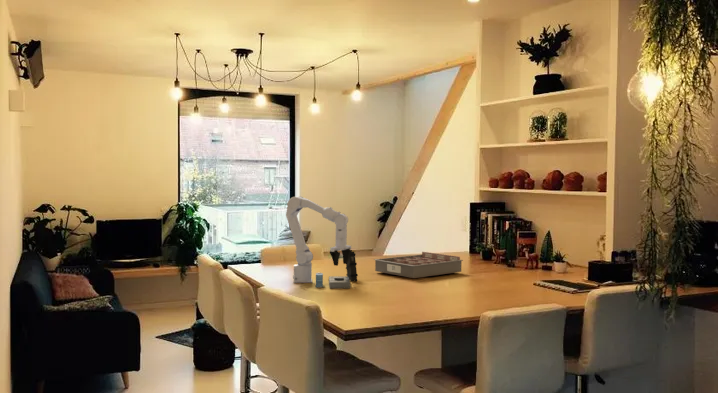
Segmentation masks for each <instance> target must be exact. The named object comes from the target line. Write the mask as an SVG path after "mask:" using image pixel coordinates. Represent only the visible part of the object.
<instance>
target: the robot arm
mask: <svg viewBox="0 0 718 393" xmlns="http://www.w3.org/2000/svg"><path fill="white" fill-rule="evenodd" d="M286 207H287V208H286V212H285V216H286V220H287V224H288V226H289V229H290V232H291V235H292V239H293V242H294V244H295V248H296V249H295V255H296V257H295V260H296V262H297V264H293V275H292V279H293V283H295V284H296V283H297V284H298V283H308V284H309V283H313V279H312V273H313V272H312V270H313V269H312V268H313V267H312V266H313V264H312V261H313V259H314V254H313V252H312V251H311V250H310V248H309V246H308V245H307V243H306V241H305V238H304V234H303V231H302V229H301V225H300V222H299V219H298V215H299V213H300V211H301V210H303V208H304V209H305V208H308V209H311V210H313V211H315V212H316V213H320V214H321V215H322V218H324V219H326V220H328V221H330V222H331V223H334V224H335V240H334V241H335V244H334V245H335V246H331V247H330V249H329V254H330V256H331V259H332V262H333V263H332V264H333V265H334V266H335V267H337V266H339V259H340V255H341V254H342V262H343V265H346V264H347V263H348V259H349V256H350V254H351V253H352V252H353V251H352V245H349V244H347V243H348V242H347V241H348V240H347V238H348V222H349V217H348V216H347V214H345V213H341V212H340V211H337V210H335V209H333V207H331V206H330V207H329V206H327V207H324V206H321V205H320V204H318V203H316V202H314V201H312V200H310V199H309V198H307V197H304V196H301V195H300V196H299V195H298V196H292V197H290V199H289V200H288V201H287V203H286ZM340 251H341V252H340Z"/></svg>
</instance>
